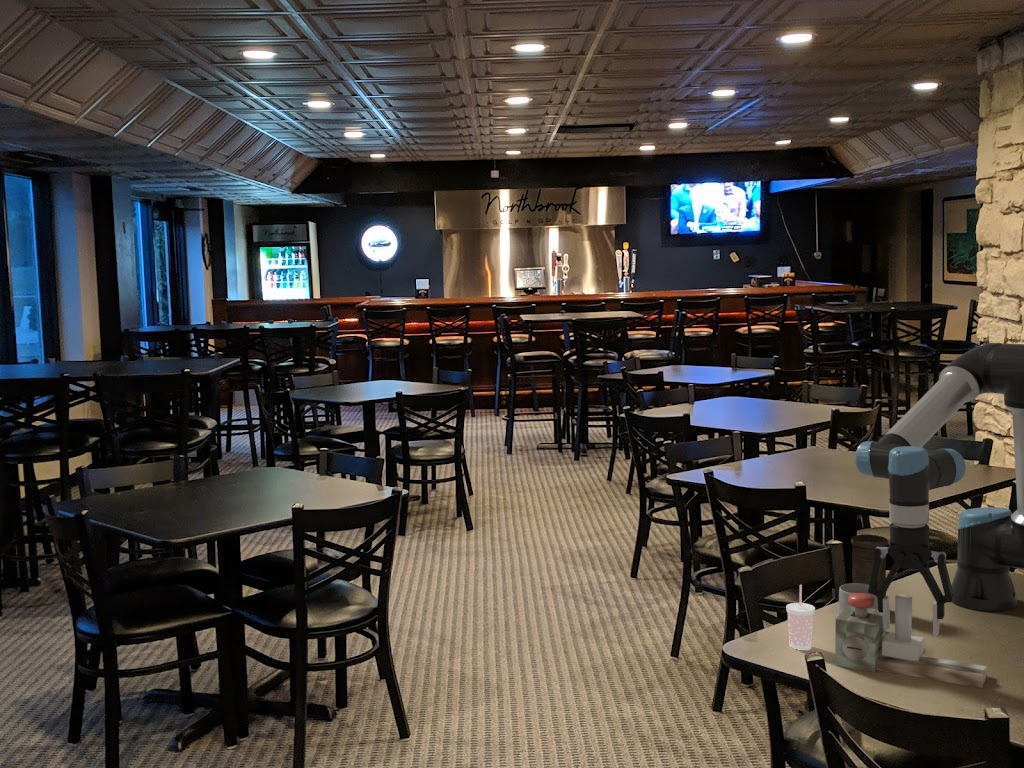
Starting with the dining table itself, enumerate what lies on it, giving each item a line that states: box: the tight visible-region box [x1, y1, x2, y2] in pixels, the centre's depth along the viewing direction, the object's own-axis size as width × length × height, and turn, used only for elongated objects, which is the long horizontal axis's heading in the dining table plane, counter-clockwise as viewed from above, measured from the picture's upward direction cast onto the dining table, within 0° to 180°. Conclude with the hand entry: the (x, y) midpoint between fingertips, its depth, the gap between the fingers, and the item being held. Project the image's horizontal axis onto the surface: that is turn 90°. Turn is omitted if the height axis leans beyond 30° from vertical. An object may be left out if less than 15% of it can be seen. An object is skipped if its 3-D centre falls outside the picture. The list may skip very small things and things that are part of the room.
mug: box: [838, 582, 878, 615], centre depth 233 cm, size 12×8×11 cm
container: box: [850, 534, 889, 595], centre depth 247 cm, size 9×9×18 cm
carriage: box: [882, 594, 925, 661], centre depth 212 cm, size 7×6×12 cm
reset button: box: [848, 593, 874, 619], centre depth 216 cm, size 5×5×6 cm
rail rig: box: [834, 605, 988, 689], centre depth 212 cm, size 28×11×10 cm, turn 58°
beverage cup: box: [785, 584, 816, 651], centre depth 226 cm, size 6×6×14 cm
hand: (911, 630), depth 212 cm, fingers open, 9 cm apart
